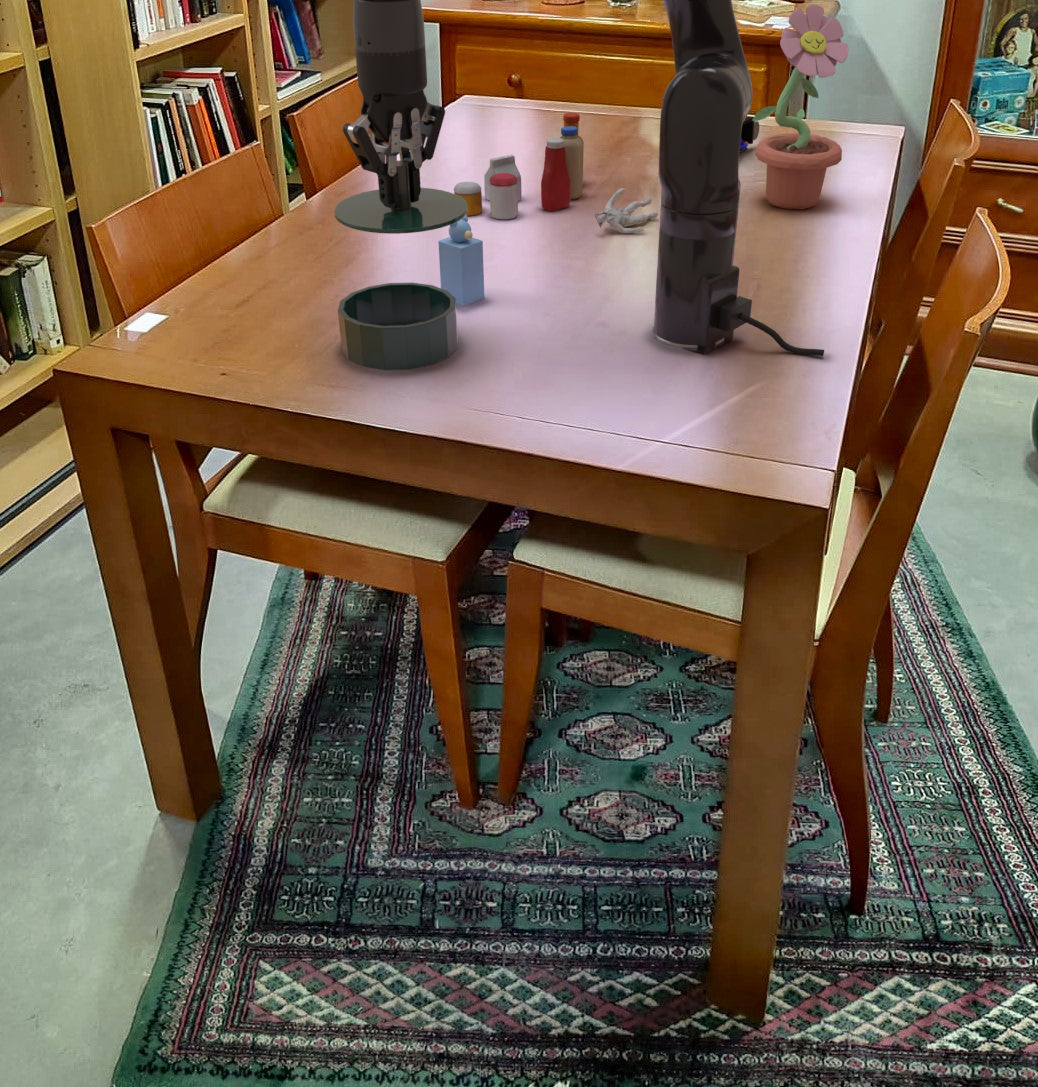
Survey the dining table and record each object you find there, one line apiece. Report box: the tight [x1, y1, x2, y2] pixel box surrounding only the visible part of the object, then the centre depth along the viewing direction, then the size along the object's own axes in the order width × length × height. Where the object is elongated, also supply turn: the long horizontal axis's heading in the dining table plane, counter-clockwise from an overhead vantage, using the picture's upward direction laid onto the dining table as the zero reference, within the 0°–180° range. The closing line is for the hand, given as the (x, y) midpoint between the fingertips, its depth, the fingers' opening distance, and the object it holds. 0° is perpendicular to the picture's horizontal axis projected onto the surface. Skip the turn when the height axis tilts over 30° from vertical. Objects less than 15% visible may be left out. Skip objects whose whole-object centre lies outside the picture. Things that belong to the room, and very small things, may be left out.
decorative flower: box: [752, 3, 850, 210], centre depth 180 cm, size 15×14×30 cm
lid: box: [333, 160, 468, 235], centre depth 129 cm, size 15×15×6 cm
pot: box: [337, 282, 459, 371], centre depth 141 cm, size 14×14×6 cm
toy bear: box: [438, 215, 485, 307], centre depth 151 cm, size 4×4×12 cm
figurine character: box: [740, 115, 760, 153], centre depth 210 cm, size 7×8×15 cm
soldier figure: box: [593, 187, 659, 234], centre depth 178 cm, size 8×5×12 cm
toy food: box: [453, 112, 585, 220], centre depth 187 cm, size 27×13×12 cm, turn 124°
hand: (401, 203), depth 130 cm, fingers closed on lid, 2 cm apart
